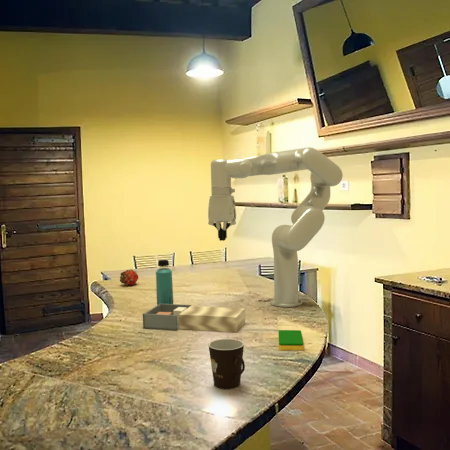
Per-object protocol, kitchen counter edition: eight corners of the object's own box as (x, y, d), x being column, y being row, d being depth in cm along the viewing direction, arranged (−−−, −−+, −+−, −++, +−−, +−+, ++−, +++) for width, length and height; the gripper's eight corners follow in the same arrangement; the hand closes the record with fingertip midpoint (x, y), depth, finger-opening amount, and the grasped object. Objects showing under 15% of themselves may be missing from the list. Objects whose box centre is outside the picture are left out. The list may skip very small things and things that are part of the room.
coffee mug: (208, 378, 131) (207, 339, 130) (242, 376, 131) (241, 338, 130) (211, 397, 119) (210, 355, 118) (248, 395, 120) (247, 353, 119)
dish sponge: (301, 337, 164) (301, 329, 164) (303, 351, 151) (303, 343, 150) (278, 337, 165) (278, 329, 165) (279, 351, 151) (278, 343, 151)
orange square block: (158, 311, 185) (159, 320, 185) (154, 315, 180) (154, 323, 180) (172, 312, 184) (172, 320, 184) (167, 315, 179) (168, 324, 179)
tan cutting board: (244, 322, 181) (244, 308, 181) (236, 332, 170) (236, 317, 169) (191, 319, 187) (190, 306, 186) (179, 329, 175) (178, 314, 175)
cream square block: (186, 307, 182) (178, 307, 183) (181, 310, 178) (173, 310, 178) (187, 321, 183) (179, 320, 184) (181, 325, 178) (173, 324, 179)
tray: (191, 318, 188) (191, 305, 188) (176, 330, 174) (176, 315, 173) (160, 316, 192) (160, 303, 191) (143, 328, 177) (142, 314, 177)
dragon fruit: (122, 291, 247) (132, 289, 258) (136, 280, 246) (145, 279, 257) (113, 276, 248) (123, 275, 260) (126, 266, 247) (136, 265, 259)
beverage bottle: (171, 313, 196) (169, 261, 195) (154, 313, 198) (152, 261, 196) (176, 309, 203) (174, 258, 201) (159, 308, 204) (158, 258, 202)
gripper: (242, 191, 198) (243, 239, 199) (205, 192, 202) (206, 239, 203) (238, 192, 190) (239, 241, 192) (199, 192, 194) (200, 241, 196)
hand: (222, 240), depth 198 cm, fingers closed
